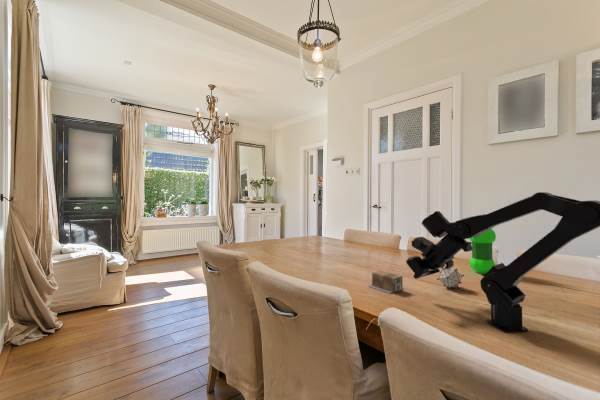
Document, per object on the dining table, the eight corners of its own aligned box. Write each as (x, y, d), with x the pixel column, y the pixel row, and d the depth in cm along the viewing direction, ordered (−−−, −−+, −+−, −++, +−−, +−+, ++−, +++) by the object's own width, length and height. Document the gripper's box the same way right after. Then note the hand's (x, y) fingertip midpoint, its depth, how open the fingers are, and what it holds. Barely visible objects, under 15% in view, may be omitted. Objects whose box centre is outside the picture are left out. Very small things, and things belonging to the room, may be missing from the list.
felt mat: (403, 289, 103) (403, 288, 103) (389, 293, 98) (389, 292, 98) (382, 282, 111) (382, 282, 111) (368, 286, 106) (368, 285, 106)
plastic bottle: (495, 271, 126) (494, 216, 125) (496, 276, 117) (496, 217, 116) (469, 268, 131) (468, 215, 131) (469, 273, 122) (468, 217, 122)
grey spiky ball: (456, 299, 102) (470, 282, 96) (433, 289, 104) (446, 272, 98) (453, 281, 109) (467, 264, 103) (432, 273, 111) (444, 256, 105)
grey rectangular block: (402, 276, 101) (380, 270, 110) (393, 278, 98) (372, 272, 107) (402, 289, 101) (380, 283, 110) (393, 292, 98) (372, 285, 107)
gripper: (443, 227, 95) (415, 255, 104) (410, 231, 85) (382, 262, 94) (468, 253, 89) (436, 280, 98) (436, 261, 78) (403, 290, 87)
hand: (414, 277), depth 94 cm, fingers closed
